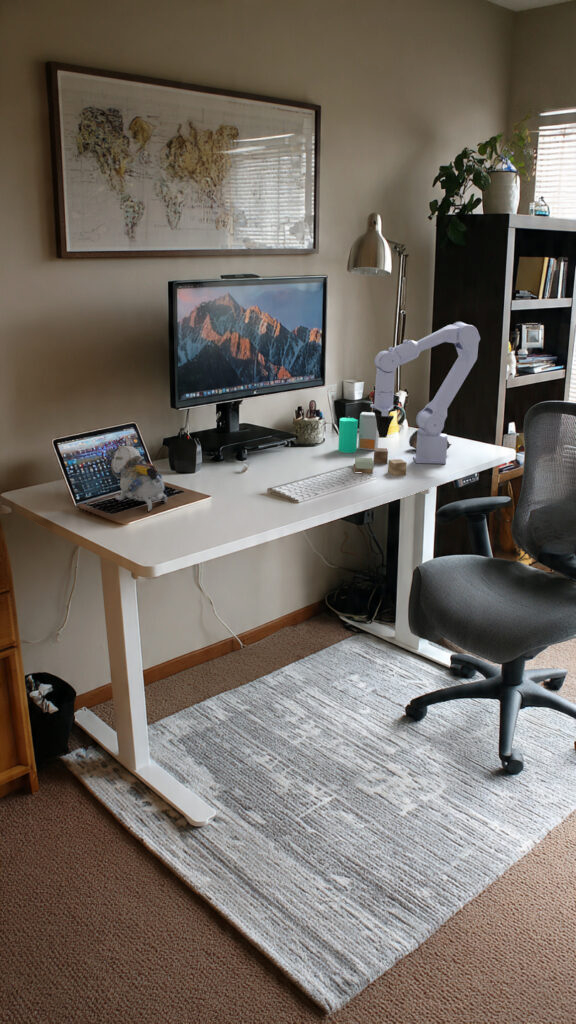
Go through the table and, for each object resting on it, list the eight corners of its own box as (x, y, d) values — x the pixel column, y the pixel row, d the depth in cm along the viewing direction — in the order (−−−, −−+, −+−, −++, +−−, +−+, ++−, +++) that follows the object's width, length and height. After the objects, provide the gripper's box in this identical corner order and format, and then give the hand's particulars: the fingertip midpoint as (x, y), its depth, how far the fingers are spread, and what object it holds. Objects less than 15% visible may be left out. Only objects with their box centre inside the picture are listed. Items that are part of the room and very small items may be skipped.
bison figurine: (407, 449, 281) (415, 455, 271) (408, 428, 279) (416, 434, 269) (441, 449, 282) (450, 455, 273) (443, 428, 280) (452, 434, 271)
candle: (356, 453, 273) (358, 417, 270) (338, 452, 274) (340, 416, 270) (355, 448, 279) (357, 413, 275) (337, 447, 279) (339, 412, 275)
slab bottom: (371, 470, 256) (371, 463, 256) (372, 475, 251) (372, 468, 250) (353, 469, 256) (353, 463, 256) (354, 474, 251) (354, 468, 251)
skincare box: (357, 449, 278) (359, 414, 274) (360, 446, 282) (362, 411, 278) (375, 451, 276) (377, 415, 272) (378, 448, 280) (380, 412, 276)
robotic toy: (134, 491, 230) (132, 438, 225) (178, 504, 220) (177, 449, 215) (97, 501, 221) (94, 446, 216) (141, 516, 210) (139, 458, 205)
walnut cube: (386, 460, 266) (386, 448, 264) (387, 463, 262) (387, 451, 261) (373, 460, 266) (374, 448, 264) (374, 463, 262) (375, 451, 261)
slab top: (371, 464, 255) (371, 457, 255) (373, 468, 251) (373, 462, 250) (355, 464, 255) (355, 457, 255) (356, 468, 250) (356, 461, 250)
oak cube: (399, 471, 254) (400, 459, 252) (405, 475, 250) (406, 462, 249) (387, 472, 253) (388, 459, 251) (393, 476, 249) (394, 463, 248)
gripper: (370, 386, 263) (367, 428, 268) (372, 395, 250) (370, 439, 254) (392, 387, 263) (389, 429, 268) (396, 395, 250) (393, 440, 254)
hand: (381, 434), depth 261 cm, fingers open, 7 cm apart
